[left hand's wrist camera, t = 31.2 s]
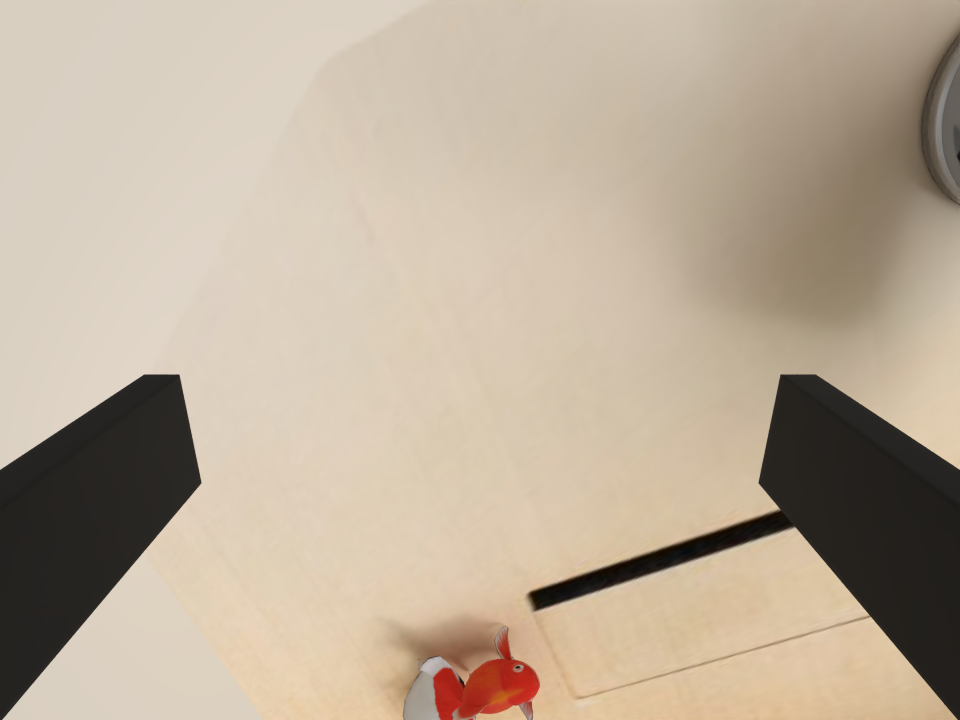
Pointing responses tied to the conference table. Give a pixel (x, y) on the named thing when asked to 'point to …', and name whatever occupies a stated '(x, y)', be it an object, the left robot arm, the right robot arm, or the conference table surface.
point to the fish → (472, 688)
